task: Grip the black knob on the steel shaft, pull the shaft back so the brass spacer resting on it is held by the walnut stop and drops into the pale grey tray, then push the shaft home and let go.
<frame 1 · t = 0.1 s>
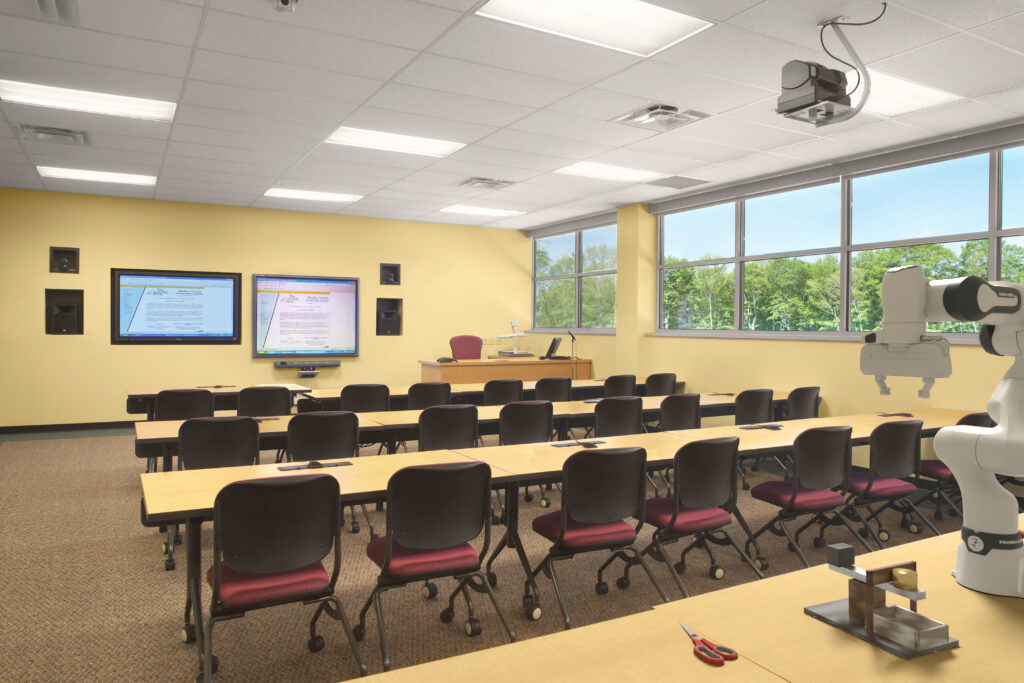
hand: (903, 396, 150), 48 cm above the table, tool pointing down, fingers open, 8 cm apart
shaft stand: (886, 631, 137), on the table
brass spacer: (904, 586, 133), point 11 cm above the table, touching steel shaft
steel shaft: (874, 569, 140), point 12 cm above the table, slide at 0.0 cm, touching brass spacer
scissors: (694, 643, 134), on the table
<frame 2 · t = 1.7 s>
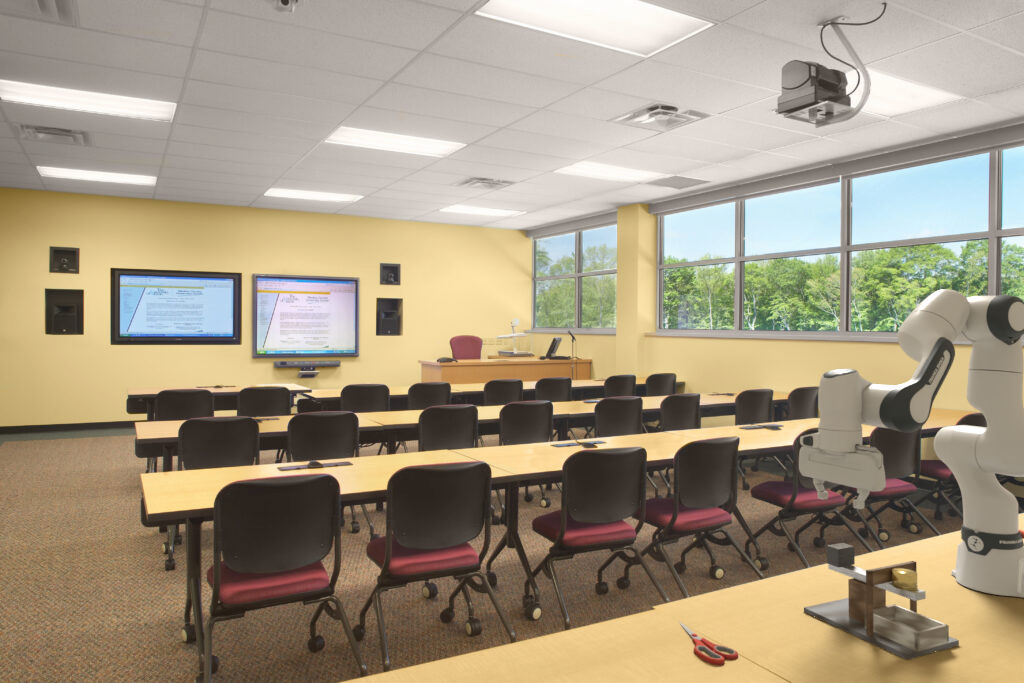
hand: (840, 503, 147), 24 cm above the table, tool pointing down, fingers open, 8 cm apart
nothing on the table moved.
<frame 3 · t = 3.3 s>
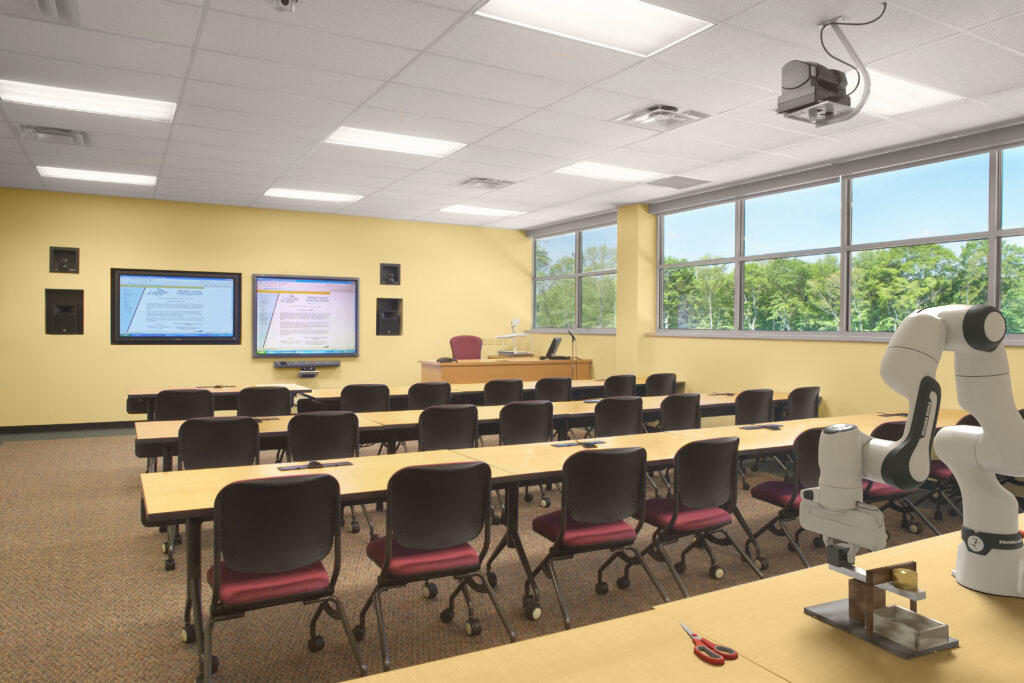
hand: (841, 558, 147), 12 cm above the table, tool pointing down, fingers closed on steel shaft, 3 cm apart
steel shaft: (874, 569, 140), point 12 cm above the table, slide at 0.0 cm, touching brass spacer, gripper
everything else where it was.
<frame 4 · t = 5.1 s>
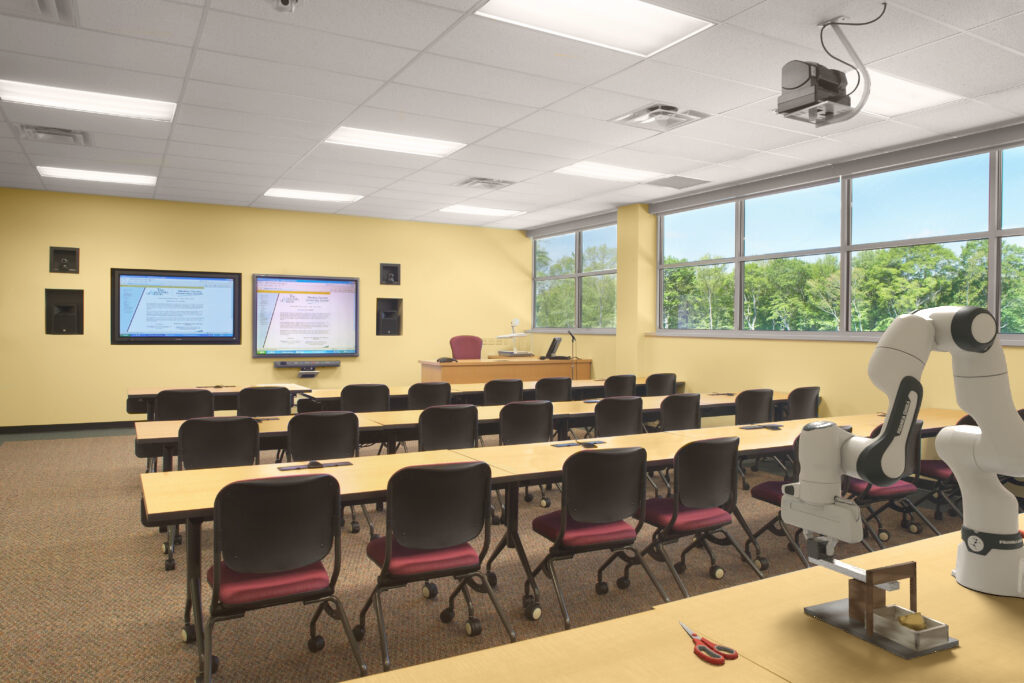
hand: (820, 551, 152), 12 cm above the table, tool pointing down, fingers closed on steel shaft, 3 cm apart
brass spacer: (908, 614, 133), point 5 cm above the table, tilted 151°
steel shaft: (851, 561, 145), point 12 cm above the table, slide at 5.6 cm, touching gripper
everything else where it was.
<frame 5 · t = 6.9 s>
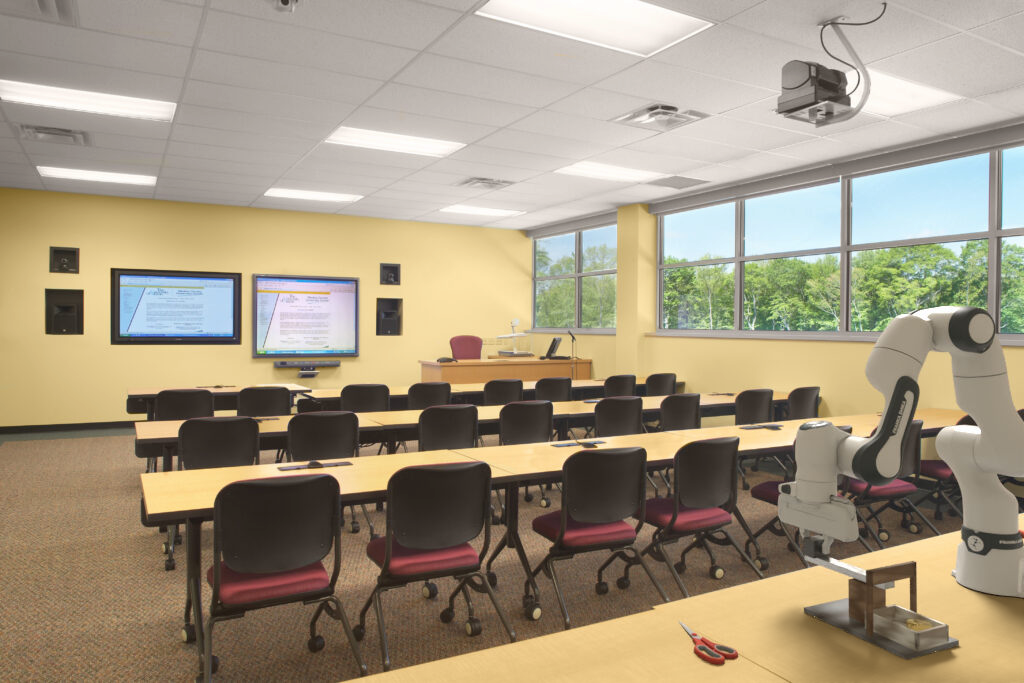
hand: (816, 550, 153), 12 cm above the table, tool pointing down, fingers closed on steel shaft, 3 cm apart
brass spacer: (919, 623, 130), point 4 cm above the table, tilted 180°, touching shaft stand
steel shaft: (846, 560, 146), point 12 cm above the table, slide at 6.7 cm, touching gripper
everything else where it was.
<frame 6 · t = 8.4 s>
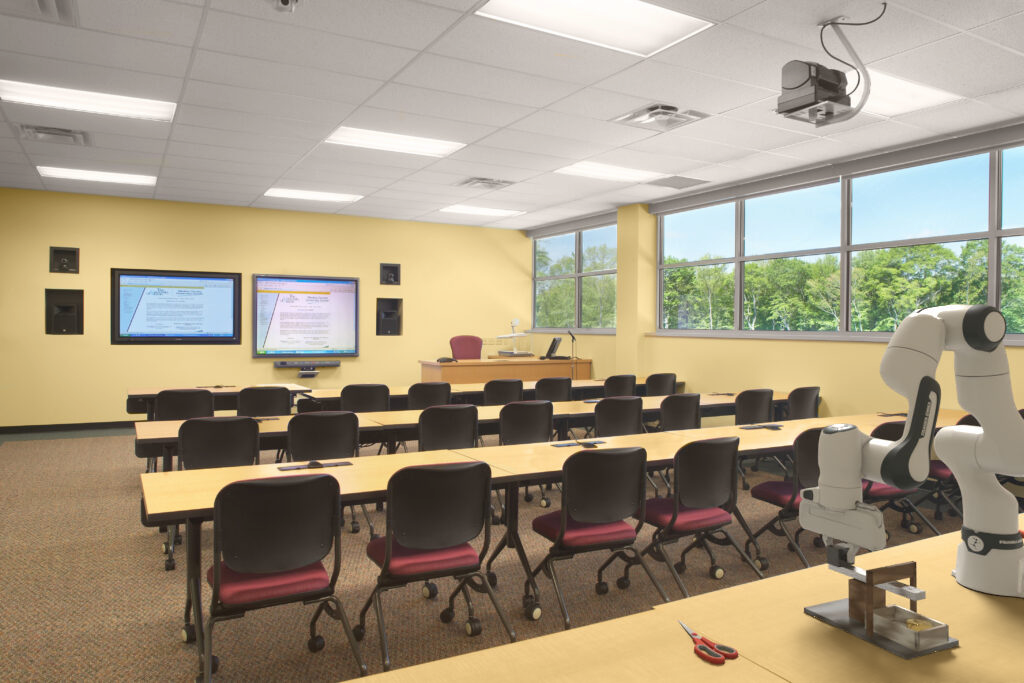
hand: (840, 558, 147), 12 cm above the table, tool pointing down, fingers closed on steel shaft, 3 cm apart
steel shaft: (873, 569, 140), point 12 cm above the table, slide at 0.0 cm, touching gripper
everything else where it was.
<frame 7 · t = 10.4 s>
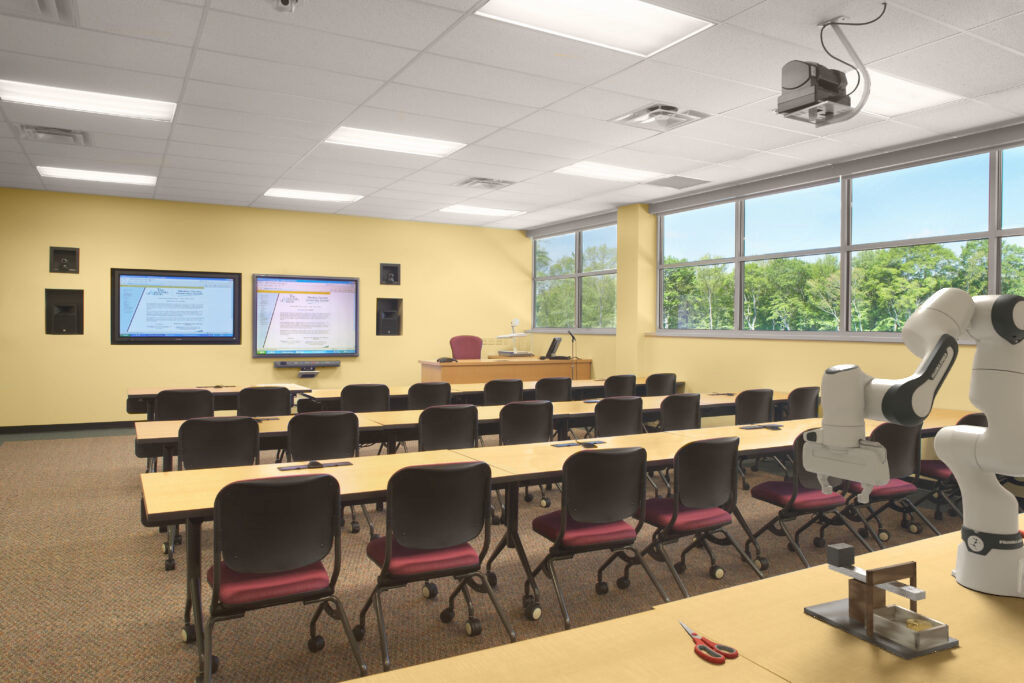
hand: (844, 498, 149), 25 cm above the table, tool pointing down, fingers open, 8 cm apart
steel shaft: (873, 569, 140), point 12 cm above the table, slide at 0.0 cm
everything else where it was.
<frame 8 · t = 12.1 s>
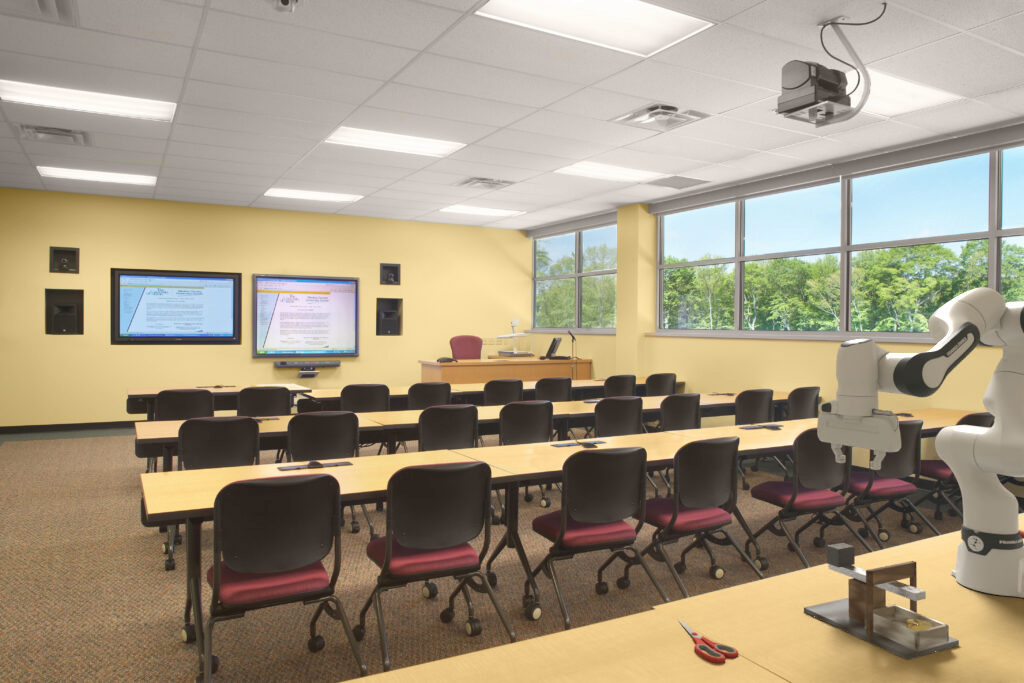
hand: (857, 465, 156), 31 cm above the table, tool pointing down, fingers open, 8 cm apart
nothing on the table moved.
at the end: brass spacer inside the target area on the shaft stand (3.0 cm from its centre), point 4.5 cm above the shaft stand's base; steel shaft slide at 0.0 cm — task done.
